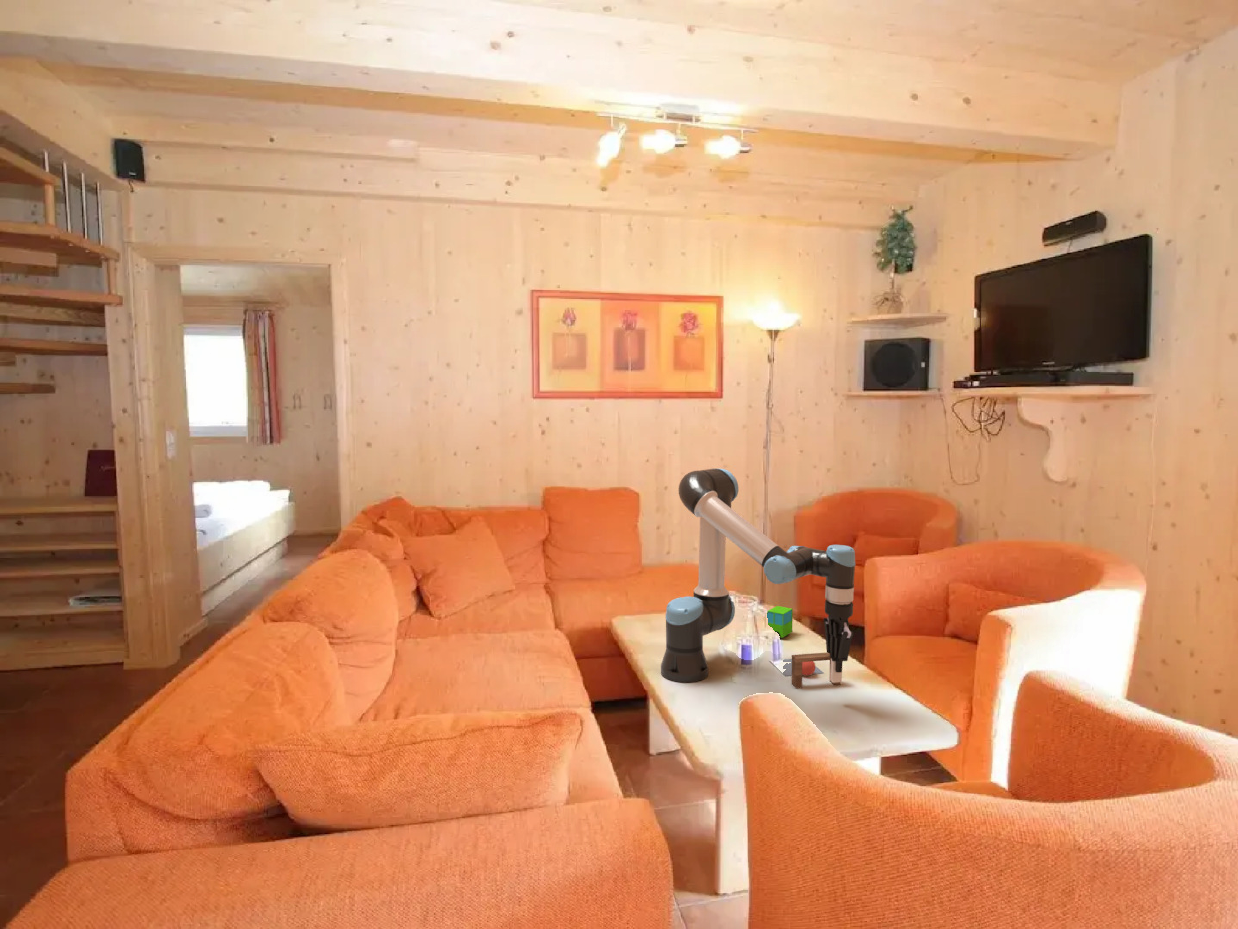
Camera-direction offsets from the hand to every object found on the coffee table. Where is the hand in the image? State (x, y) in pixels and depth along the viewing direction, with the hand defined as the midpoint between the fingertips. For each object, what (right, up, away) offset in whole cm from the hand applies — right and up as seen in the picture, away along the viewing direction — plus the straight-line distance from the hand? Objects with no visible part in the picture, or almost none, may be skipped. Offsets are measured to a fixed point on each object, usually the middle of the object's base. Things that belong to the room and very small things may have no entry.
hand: (835, 681), depth 183 cm
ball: (-3, -2, +20) cm, 20 cm away
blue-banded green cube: (-5, -2, +59) cm, 59 cm away
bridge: (-2, -5, +13) cm, 14 cm away
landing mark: (-4, -4, +27) cm, 27 cm away
